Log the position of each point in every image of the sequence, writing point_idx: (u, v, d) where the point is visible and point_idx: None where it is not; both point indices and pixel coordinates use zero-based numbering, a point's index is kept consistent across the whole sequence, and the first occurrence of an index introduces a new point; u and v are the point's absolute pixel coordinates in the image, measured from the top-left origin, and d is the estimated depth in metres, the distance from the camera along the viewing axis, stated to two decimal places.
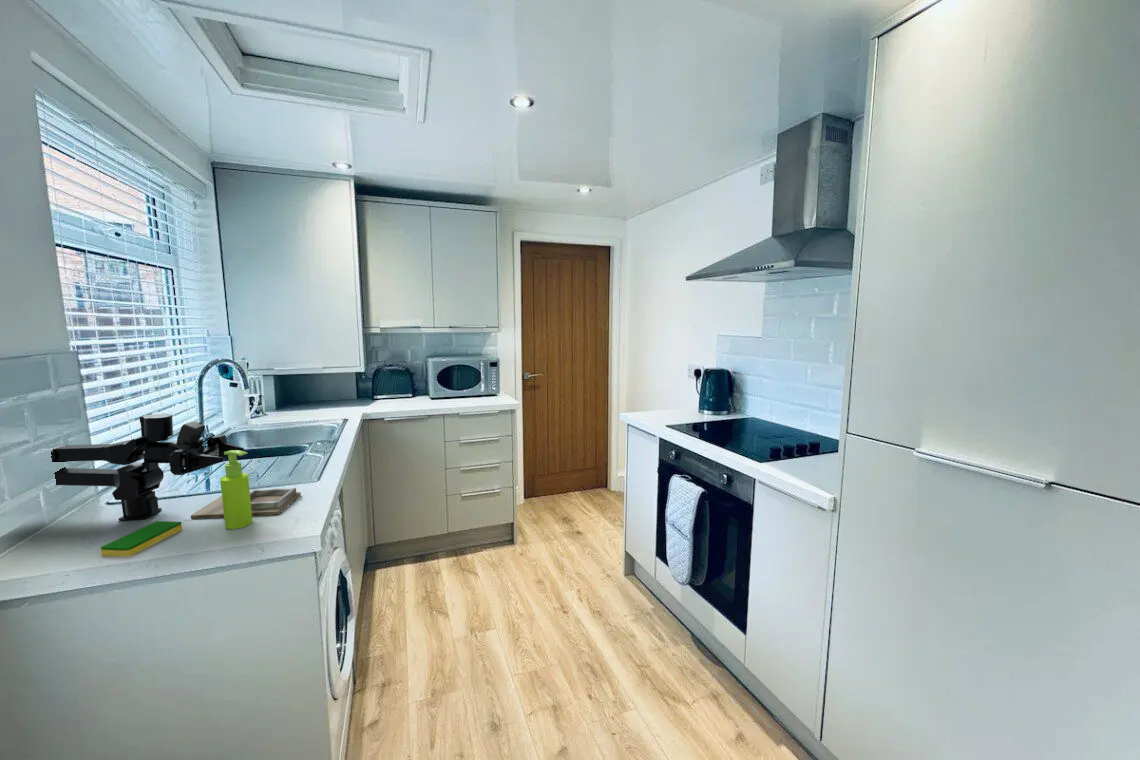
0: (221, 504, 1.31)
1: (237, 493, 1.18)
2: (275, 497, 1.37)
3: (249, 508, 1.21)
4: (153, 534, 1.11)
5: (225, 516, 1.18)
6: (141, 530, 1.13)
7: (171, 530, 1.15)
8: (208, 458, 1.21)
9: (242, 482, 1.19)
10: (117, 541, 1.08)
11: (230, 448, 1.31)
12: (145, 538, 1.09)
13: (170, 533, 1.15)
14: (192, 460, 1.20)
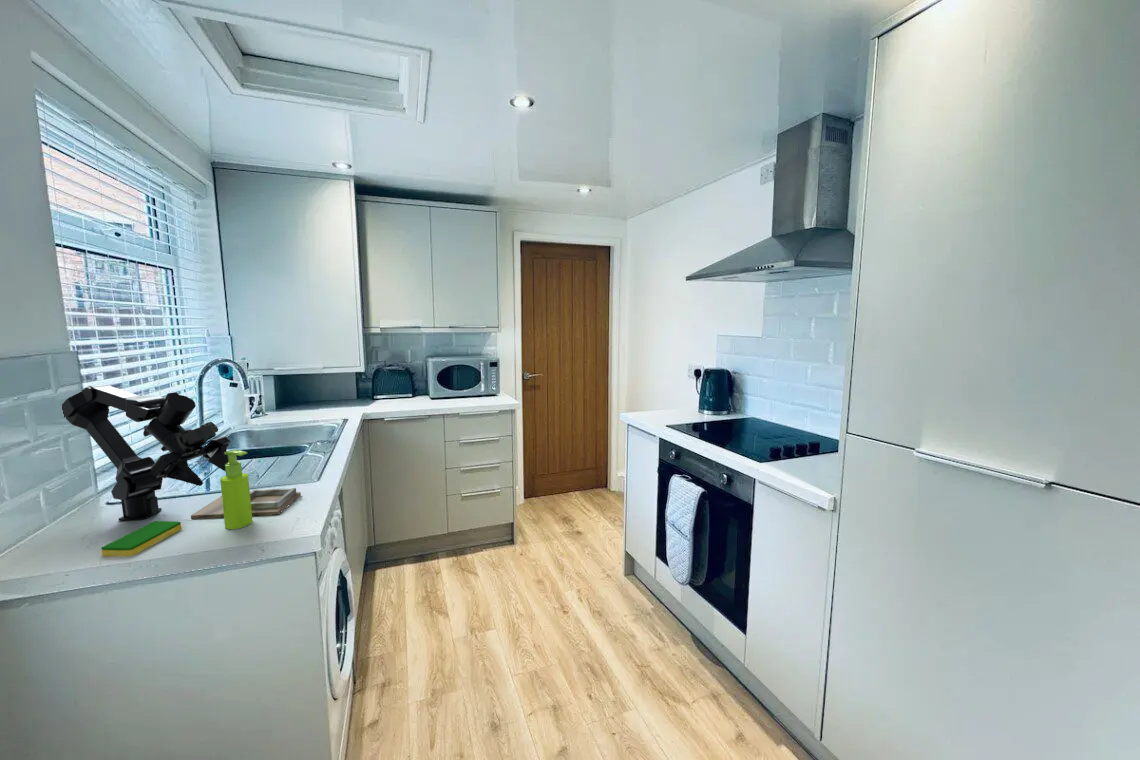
0: (221, 504, 1.31)
1: (237, 493, 1.18)
2: (275, 497, 1.37)
3: (249, 508, 1.21)
4: (153, 534, 1.12)
5: (225, 516, 1.18)
6: (140, 530, 1.13)
7: (171, 530, 1.16)
8: (190, 476, 1.14)
9: (242, 482, 1.19)
10: (118, 541, 1.08)
11: (222, 462, 1.24)
12: (146, 538, 1.09)
13: (170, 533, 1.15)
14: (177, 468, 1.14)
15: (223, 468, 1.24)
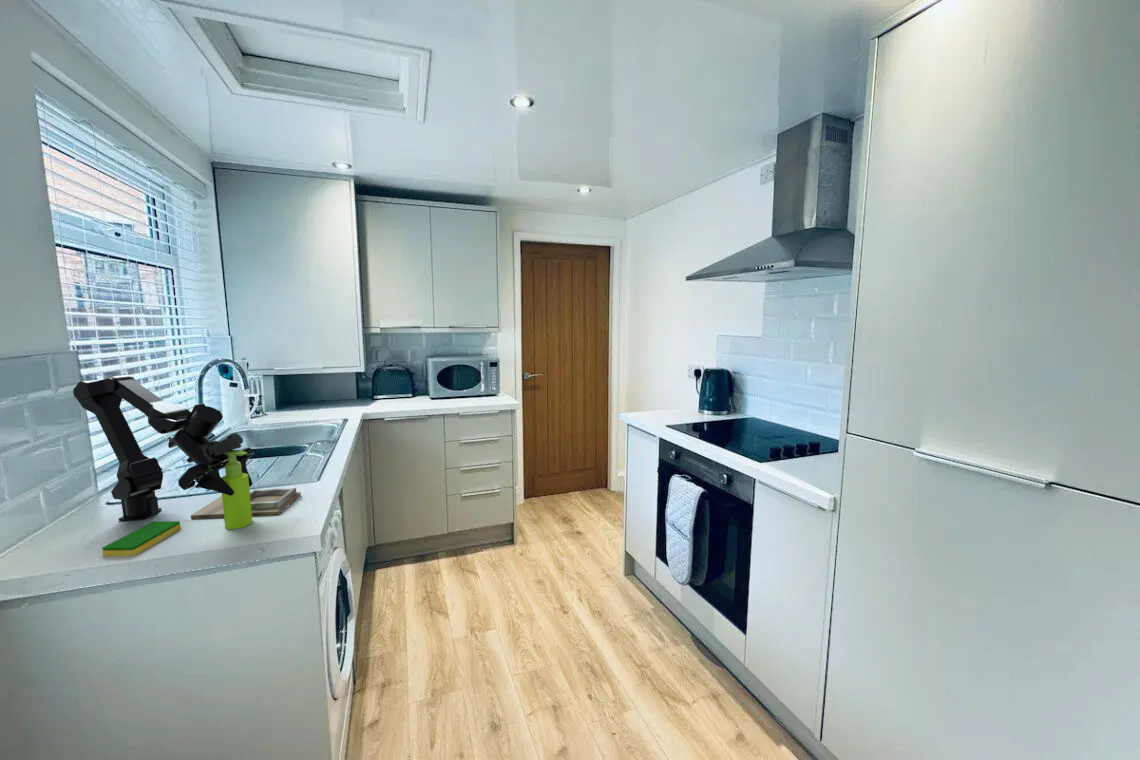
0: (221, 504, 1.31)
1: (237, 493, 1.18)
2: (275, 497, 1.37)
3: (249, 508, 1.21)
4: (154, 533, 1.12)
5: (225, 516, 1.18)
6: (140, 530, 1.13)
7: (171, 529, 1.16)
8: (222, 486, 1.16)
9: (242, 482, 1.19)
10: (118, 541, 1.08)
11: None
12: (147, 537, 1.10)
13: (170, 532, 1.15)
14: (209, 478, 1.15)
15: None
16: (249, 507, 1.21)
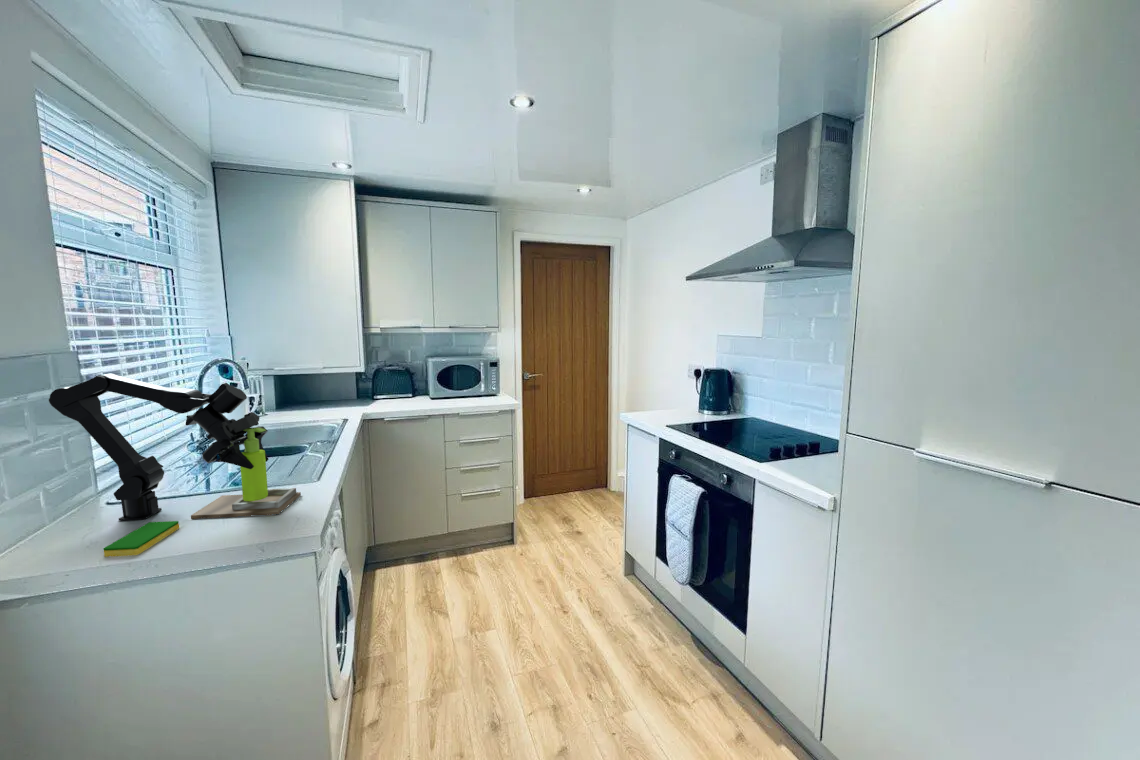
0: (221, 504, 1.31)
1: (255, 467, 1.27)
2: (275, 497, 1.37)
3: (266, 482, 1.30)
4: (155, 533, 1.12)
5: (243, 489, 1.27)
6: (139, 531, 1.13)
7: (170, 529, 1.16)
8: (242, 460, 1.24)
9: (261, 457, 1.28)
10: (119, 542, 1.08)
11: None
12: (149, 537, 1.10)
13: (170, 532, 1.16)
14: (230, 452, 1.24)
15: None
16: (266, 481, 1.30)
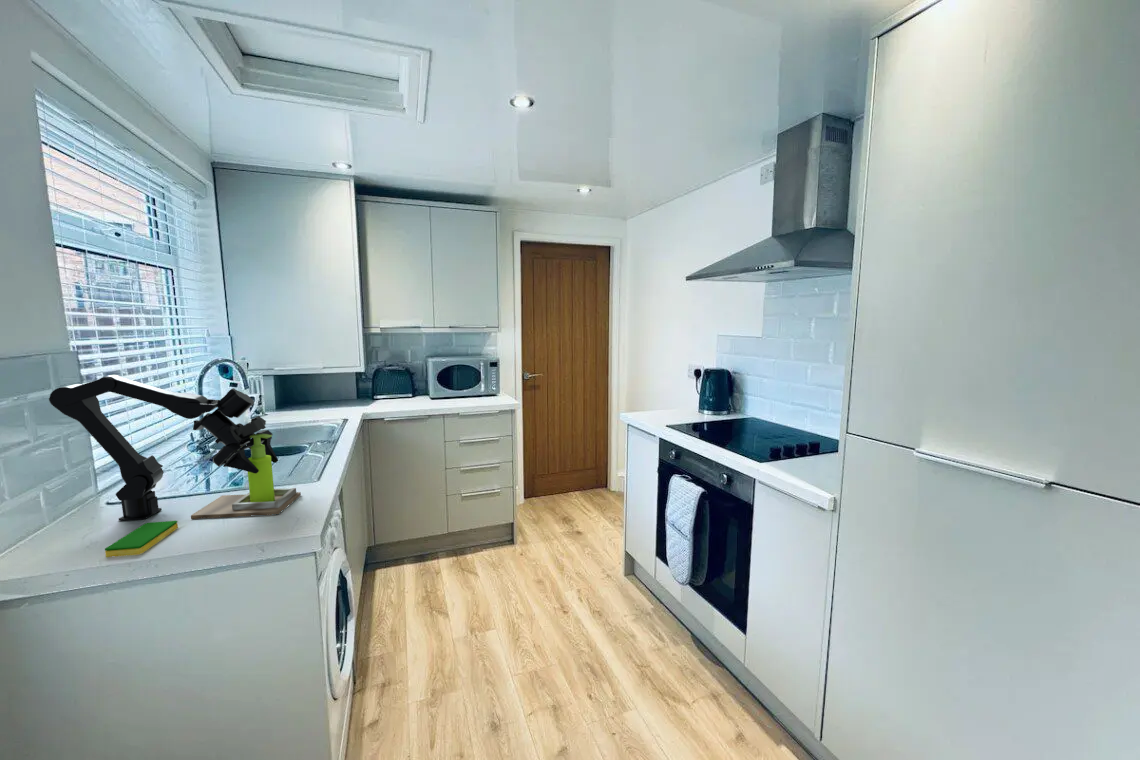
0: (221, 504, 1.31)
1: (263, 472, 1.30)
2: (275, 497, 1.37)
3: (272, 486, 1.34)
4: (155, 532, 1.12)
5: (251, 494, 1.30)
6: (138, 531, 1.13)
7: (170, 529, 1.16)
8: (248, 464, 1.26)
9: (267, 462, 1.31)
10: (120, 542, 1.07)
11: (268, 452, 1.37)
12: (150, 536, 1.10)
13: (169, 532, 1.16)
14: (235, 457, 1.26)
15: None
16: (272, 485, 1.34)
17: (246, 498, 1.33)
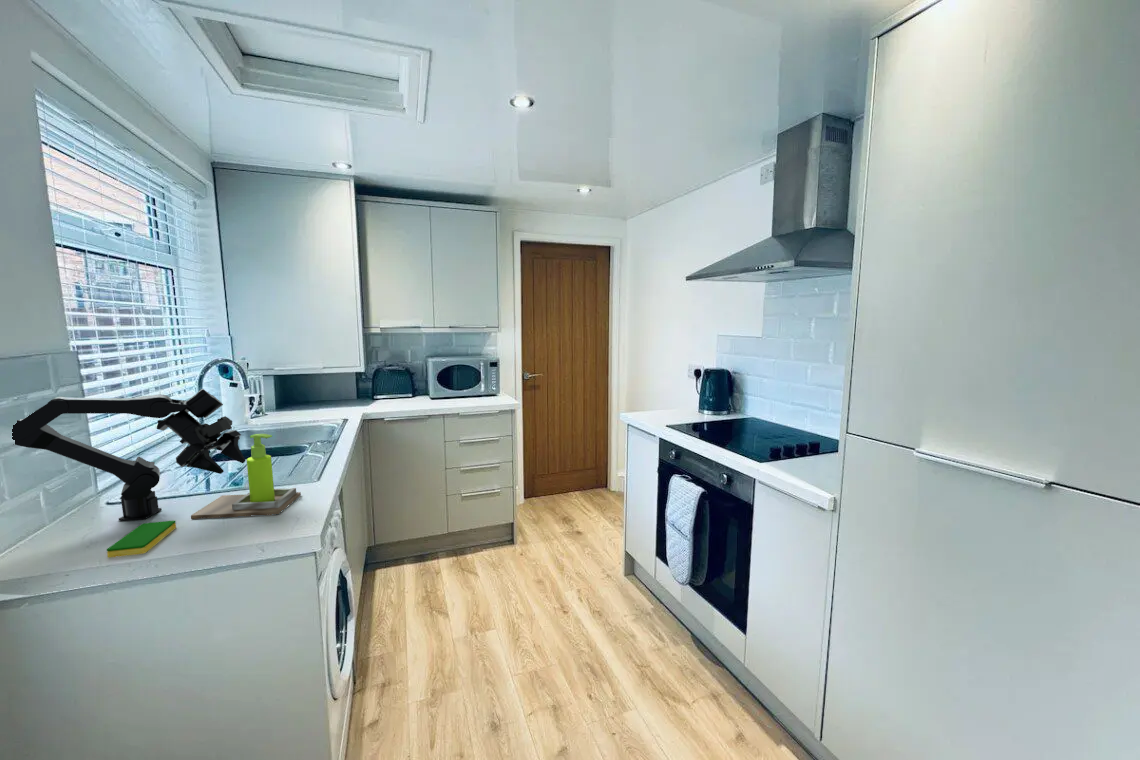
0: (221, 504, 1.31)
1: (263, 472, 1.30)
2: (275, 497, 1.37)
3: (273, 486, 1.34)
4: (156, 532, 1.12)
5: (251, 494, 1.30)
6: (137, 531, 1.13)
7: (169, 528, 1.16)
8: (212, 465, 1.26)
9: (268, 462, 1.31)
10: (121, 542, 1.07)
11: (235, 453, 1.36)
12: (152, 536, 1.10)
13: (169, 531, 1.16)
14: (199, 458, 1.25)
15: (236, 458, 1.36)
16: (272, 485, 1.34)
17: (246, 498, 1.33)
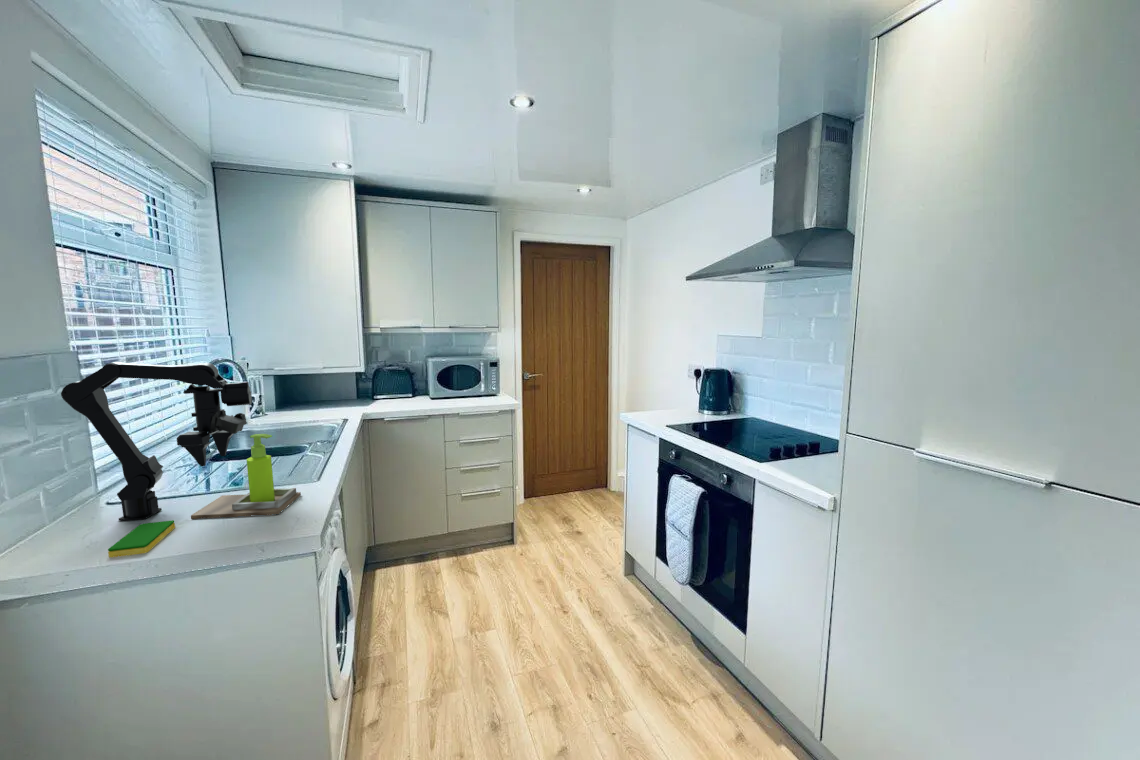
0: (221, 504, 1.31)
1: (263, 472, 1.30)
2: (275, 497, 1.37)
3: (273, 486, 1.34)
4: (156, 532, 1.12)
5: (251, 494, 1.30)
6: (136, 532, 1.12)
7: (169, 528, 1.17)
8: (201, 456, 1.26)
9: (268, 462, 1.31)
10: (122, 542, 1.07)
11: (223, 444, 1.36)
12: (153, 536, 1.11)
13: (168, 531, 1.16)
14: None
15: (219, 449, 1.36)
16: (272, 485, 1.34)
17: (246, 498, 1.33)
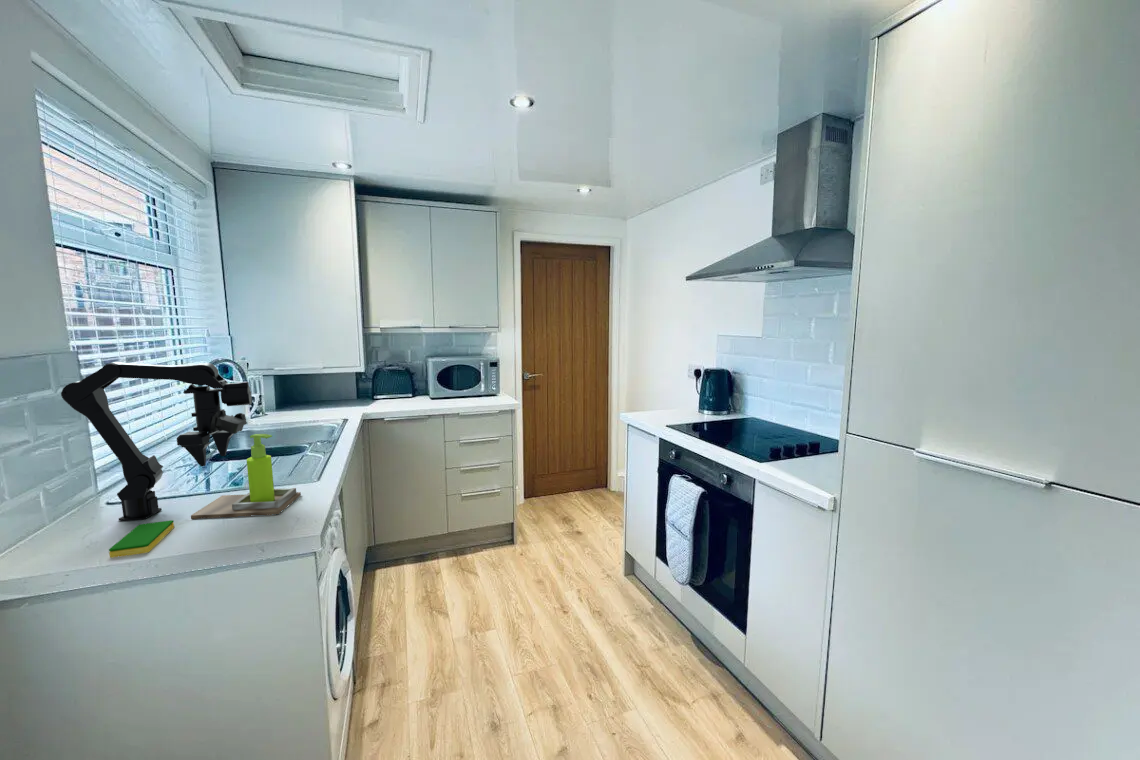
0: (221, 504, 1.31)
1: (263, 472, 1.30)
2: (275, 497, 1.37)
3: (273, 486, 1.34)
4: (156, 532, 1.13)
5: (251, 494, 1.30)
6: (135, 532, 1.12)
7: (168, 528, 1.17)
8: (201, 456, 1.26)
9: (268, 462, 1.31)
10: (123, 542, 1.07)
11: (223, 444, 1.36)
12: (153, 535, 1.11)
13: (168, 531, 1.16)
14: None
15: (219, 449, 1.36)
16: (272, 485, 1.34)
17: (246, 498, 1.33)
